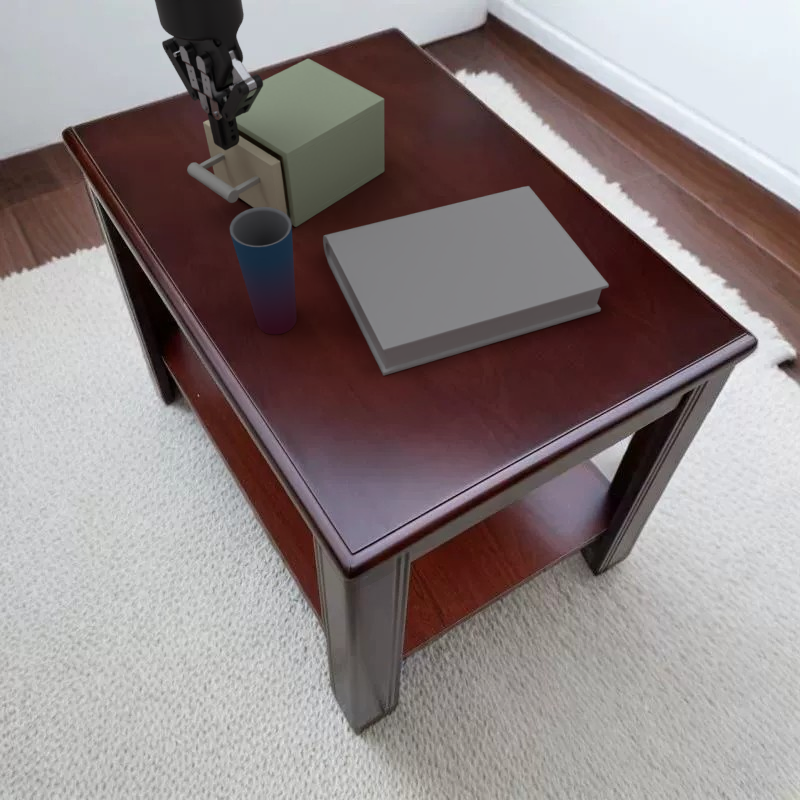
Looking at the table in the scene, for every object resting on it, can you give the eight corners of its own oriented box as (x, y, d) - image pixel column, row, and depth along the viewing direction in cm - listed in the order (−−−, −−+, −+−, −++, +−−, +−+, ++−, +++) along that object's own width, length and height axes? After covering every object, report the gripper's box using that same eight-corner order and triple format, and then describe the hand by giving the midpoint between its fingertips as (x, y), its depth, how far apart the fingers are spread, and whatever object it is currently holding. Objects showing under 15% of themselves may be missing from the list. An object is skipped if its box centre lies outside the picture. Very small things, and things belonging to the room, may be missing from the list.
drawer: (248, 245, 80) (236, 185, 73) (184, 199, 84) (168, 139, 78) (364, 173, 88) (363, 113, 82) (300, 135, 92) (294, 76, 86)
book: (609, 284, 73) (383, 349, 67) (600, 311, 76) (383, 376, 70) (523, 179, 83) (321, 228, 77) (519, 207, 86) (324, 255, 80)
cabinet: (295, 227, 83) (286, 153, 75) (225, 180, 88) (210, 106, 80) (384, 171, 90) (384, 98, 82) (314, 130, 95) (308, 58, 87)
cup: (268, 348, 72) (250, 255, 62) (239, 316, 74) (218, 222, 65) (314, 323, 74) (303, 230, 64) (285, 293, 77) (270, 199, 67)
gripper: (111, -43, 64) (160, 134, 78) (204, 7, 59) (240, 187, 73) (181, -67, 68) (216, 106, 81) (275, -22, 62) (296, 155, 76)
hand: (227, 144), depth 77 cm, fingers closed
